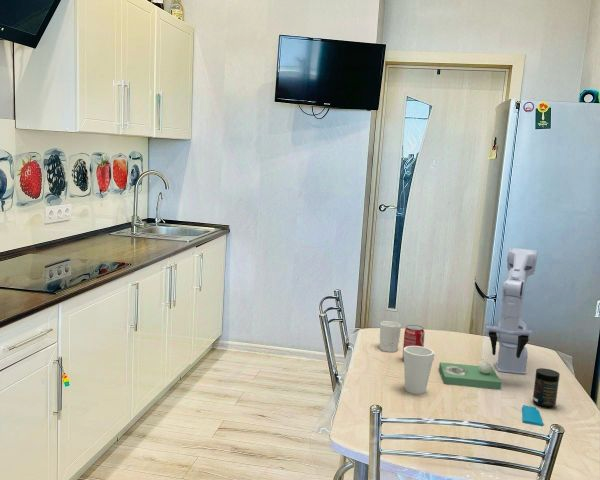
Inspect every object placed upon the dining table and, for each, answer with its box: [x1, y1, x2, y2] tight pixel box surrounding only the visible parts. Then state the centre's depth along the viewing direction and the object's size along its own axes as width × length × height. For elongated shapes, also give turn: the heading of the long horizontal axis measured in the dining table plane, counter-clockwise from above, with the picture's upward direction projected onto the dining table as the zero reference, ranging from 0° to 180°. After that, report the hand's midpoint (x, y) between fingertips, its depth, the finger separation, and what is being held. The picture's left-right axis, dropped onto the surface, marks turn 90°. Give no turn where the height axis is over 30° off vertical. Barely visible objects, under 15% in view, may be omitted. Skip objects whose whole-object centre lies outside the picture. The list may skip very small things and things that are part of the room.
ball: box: [478, 361, 492, 374], centre depth 197 cm, size 4×4×4 cm
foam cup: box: [402, 346, 435, 395], centre depth 185 cm, size 10×9×13 cm
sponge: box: [521, 404, 545, 427], centre depth 171 cm, size 2×12×6 cm
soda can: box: [402, 324, 425, 361], centre depth 211 cm, size 7×7×13 cm
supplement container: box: [532, 367, 561, 410], centre depth 180 cm, size 7×7×10 cm
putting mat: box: [438, 361, 502, 391], centre depth 198 cm, size 18×14×2 cm
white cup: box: [379, 320, 402, 353], centre depth 224 cm, size 8×8×10 cm
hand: (505, 355), depth 195 cm, fingers open, 7 cm apart
